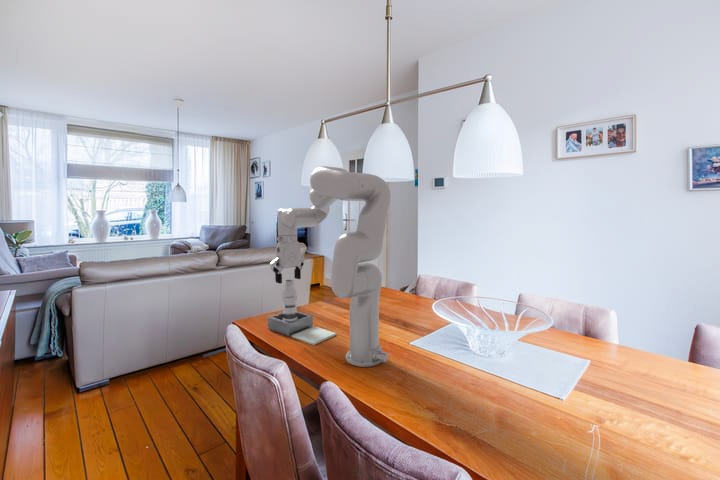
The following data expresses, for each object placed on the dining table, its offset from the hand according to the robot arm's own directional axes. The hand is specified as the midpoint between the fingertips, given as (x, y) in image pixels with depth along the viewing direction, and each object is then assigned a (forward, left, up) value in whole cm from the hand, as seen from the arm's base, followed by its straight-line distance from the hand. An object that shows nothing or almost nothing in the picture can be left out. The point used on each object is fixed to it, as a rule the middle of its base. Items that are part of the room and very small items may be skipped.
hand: (288, 280), depth 136 cm
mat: (-15, 0, -20) cm, 25 cm away
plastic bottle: (0, 0, -20) cm, 20 cm away
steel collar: (-1, 0, -20) cm, 20 cm away
